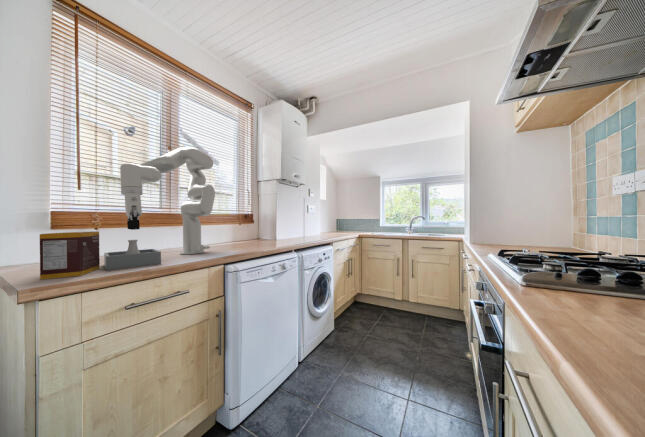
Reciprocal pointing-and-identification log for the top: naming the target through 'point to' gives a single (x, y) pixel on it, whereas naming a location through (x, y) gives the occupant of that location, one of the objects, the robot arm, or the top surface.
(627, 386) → the top surface
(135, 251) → the flask
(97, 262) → the supplement box
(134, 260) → the bin
